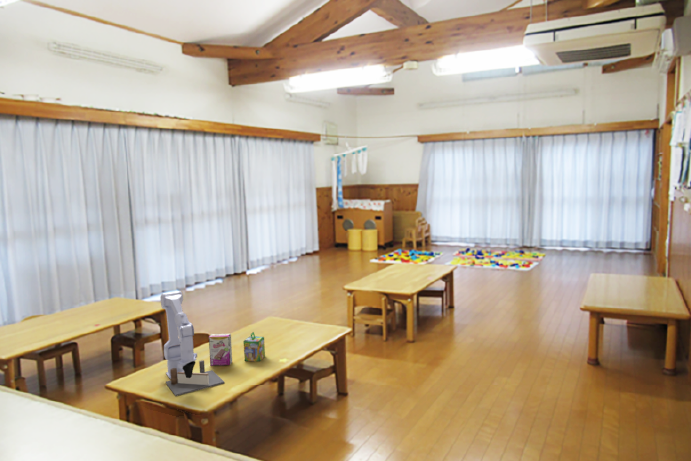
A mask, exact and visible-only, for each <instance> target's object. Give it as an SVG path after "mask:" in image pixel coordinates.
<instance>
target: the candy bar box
mask: <svg viewBox="0 0 691 461" xmlns="http://www.w3.org/2000/svg"><path fill="white" fill-rule="evenodd" d="M208 345H209V350H208V351H209V365H210V366H215V367H216V366H231V365H232V363H233V352H232V350H233V349H232V334H231V333H210V335H209V336H208Z"/></svg>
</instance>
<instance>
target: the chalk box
mask: <svg viewBox="0 0 691 461" xmlns="http://www.w3.org/2000/svg"><path fill="white" fill-rule="evenodd" d="M265 348H266V347H265V337H264V336H256V335H255V331H252V333H250V336H248V337H247V338H245V339H244V340H243V355H244V362H261V361H262V360H263V359H264V358H265V357H266V349H265Z"/></svg>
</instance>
